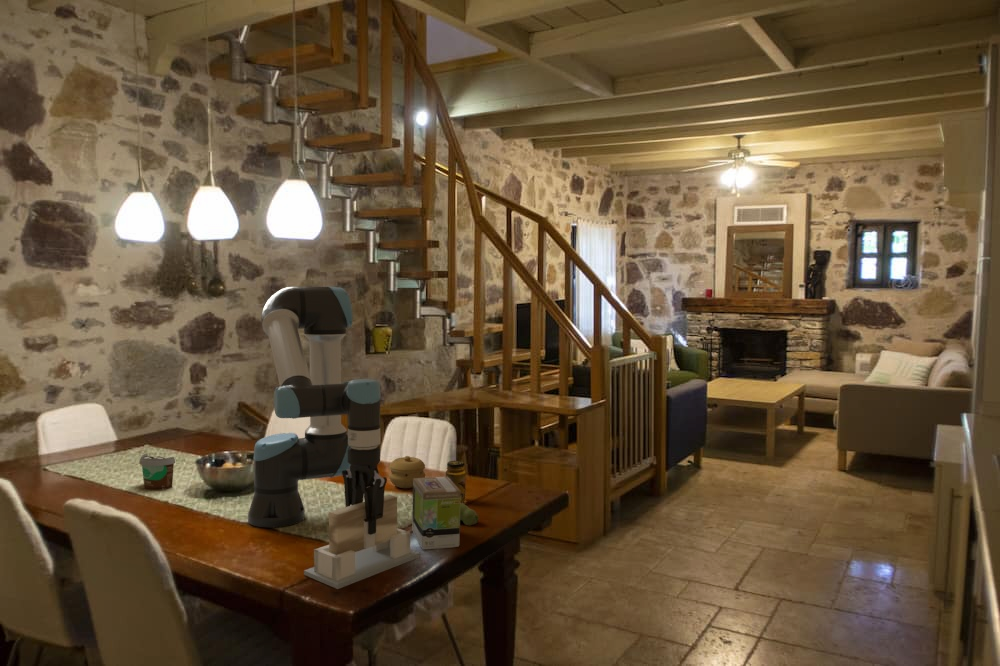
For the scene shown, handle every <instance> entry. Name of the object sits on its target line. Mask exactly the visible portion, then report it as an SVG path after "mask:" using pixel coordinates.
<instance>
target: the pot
mask: <svg viewBox="0 0 1000 666" xmlns="http://www.w3.org/2000/svg"><path fill="white" fill-rule="evenodd" d="M388 469H389V470H390V472H389V474H388V479H389V480H390V483H392V484H393V486H395V487H397V488H399V489H413V478H426V472H425V471H424V470H425V469H426V464H425V462H424V461H423V460H421V459H420V458H417V457H411V456H409V455H405V456H403V457H398V458H395V459H393V460H392V462H390V463H389V468H388Z"/></svg>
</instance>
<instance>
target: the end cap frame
mask: <svg viewBox="0 0 1000 666" xmlns="http://www.w3.org/2000/svg"><path fill="white" fill-rule="evenodd" d="M411 535H412V534H411V531H408V530H404V529H401V528H398V527H397V534H396V535H393V536H390V540H389V541H386V542H383V543H380V544H377V545H375V546H373V547H370V548H367V549H363V550H360V551H357V552H354V551H352V550H350V551H347V552H344V553H341V554H338V555H335V554H332V553H330V552H329V544H327V545H324V546H320V547H318V548H315V549H313V566H312V567H309V568H308V569H304V570H303V575H304V576H306V577H308V578H310V579H313V580H314V581H318V582H320V583H323V584H324V585H327V586H329V587H332V588H334V589H336V590H339V589H342V588H345V587H347V586H349V585H352V584H354V583H357V582H360V581H363V580H365V579H367V578H370V577H372V576H373V577H374V576H375V575H377V574H378V575H379V574H380V573H383V572H385V571H387V570H390V569H393V568H395V567H398V566H400V565H403V564H406V563H408V562H411V561H414V560H416V559H418V558H421V553H420V552H419V551H416V550H413V549H411V537H412V536H411Z"/></svg>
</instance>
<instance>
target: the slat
mask: <svg viewBox="0 0 1000 666" xmlns="http://www.w3.org/2000/svg"><path fill="white" fill-rule="evenodd" d="M371 515H372V514H371ZM364 519H366V510H365V501H363V502H362V503H358V504H355V505H350V506H348V507H346V506H344V507H341V508H337V509H334V510H331V511H329V512H328V539H329V540H328V545H329V552H330V553H332V554H335V555H338V554H341V553H344V552H347V551H350V550H352V551H354V552H358V551H361V550H364V549H365V548H364ZM397 528H398V496H395V495H390V494H386V495H384V507H383V517H382V518H379V519H377V520H376V533H375V545H377V544H380V543H383V542H386V541H389V540H390V536H393V535H396V534H397Z"/></svg>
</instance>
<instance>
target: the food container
mask: <svg viewBox="0 0 1000 666" xmlns="http://www.w3.org/2000/svg"><path fill="white" fill-rule="evenodd" d="M138 463H139V465H140V466H141V470H142V478H143V479H142V480H143V487H144V489H145V490H149V491H159V490H160V491H162V490H167V489H172V488H173V482H174V481H173V478H174V465H175V464H176V460H175V456H171V457H166V458H165V457H163V456H152V455H151V456H150V455H149V454H148V453H144V454H142V455H141V456H140V458H139V462H138Z"/></svg>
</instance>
